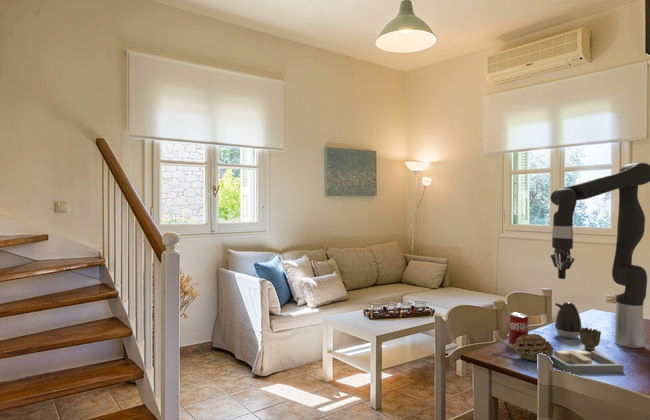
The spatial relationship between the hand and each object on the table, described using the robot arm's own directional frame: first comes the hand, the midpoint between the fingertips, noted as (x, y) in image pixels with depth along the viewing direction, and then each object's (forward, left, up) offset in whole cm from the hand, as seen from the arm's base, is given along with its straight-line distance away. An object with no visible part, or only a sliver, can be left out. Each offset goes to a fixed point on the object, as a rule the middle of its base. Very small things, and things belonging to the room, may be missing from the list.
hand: (561, 278), depth 178 cm
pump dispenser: (-9, -9, -27) cm, 30 cm away
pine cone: (+25, +16, -27) cm, 40 cm away
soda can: (+18, 0, -27) cm, 33 cm away
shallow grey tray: (+7, +23, -27) cm, 36 cm away
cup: (-7, +8, -27) cm, 29 cm away
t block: (+7, +22, -27) cm, 36 cm away
